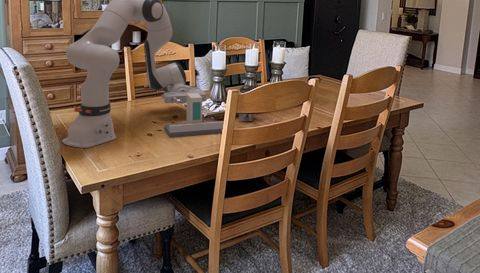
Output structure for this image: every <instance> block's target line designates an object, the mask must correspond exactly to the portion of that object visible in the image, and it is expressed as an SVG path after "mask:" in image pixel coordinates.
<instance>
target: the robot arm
mask: <svg viewBox="0 0 480 273" xmlns="http://www.w3.org/2000/svg"><path fill="white" fill-rule="evenodd" d="M131 20H134V21H138V22H144V23H145V24H146V29H147V37H146V39H145V40H144V43H143V48H144V51H143V52H144V59H145V70H146V82H147V84H148V87H149V89H151V90H154V91H157V92H158V91H160V90H162V89H163V88H167V92H163V94H161V96H160V97H161V99H163V102H164V103H165V104H185V103H186V104H187V94H188V93H198V94H199V95H200V96H201V97H202V102H206V101H207V92H206V91H205V90H202V89H200V86H193V85H192V86H191V85H188V84H186V82H187V74H186V72H185V69H184V67H183V66H182V65H181V64H179V63H178V62H172V63H169V64H167V65H163V66H161V67H158V68H156V63H155V62H156V61H155V55H156V53H157V52H158V51H159V50H160V49H162V48H163V47H164V46H165V45H167V44H168V43H169V42H170V40H171V39H172V37H173V27H172V23H171V19H170V15H169V14H168V10H167V8H166V7H165V4H163V3H162V2H161V0H110V1H109V3H108V4H107V5H106V6H105V8H104V9H103V11H102V13H101V14H100V16H99V17H98V19H97V21H96V22H95V24H94V25H93V27H91V29H90V30H89V31H87V32H86V33H85V34H84V35H83V36H82V37H81V38H79V39H77V40H76V41H75V42H72V43H70V44H69V45H68V47H67V48H66V51H65V56H66V57H65V58H66V60H67V62H68V63H69V64H70V65H73V67H75V68H78V69H81V70H86V71H87V74H86V79H85V81H84V80H83V82H82V83H81V84H80V102H81V103H80V106H79V107H78V106H75V107H74V109H73V111H74V112H75V113H78V115H77V116H76V117H75V119H74V120H73V121H72V122H71V124H70V125H69V126H68V129H67V137H65V138H63V139H62V140H61V141H62V143H63V144H64V145H67V146H69V147H73V148H83V149H85V148H86V149H88V148H92V147H94V146H98V145H101V144H104V143H107V142H111V141H114V140H116V139H117V136H116V133H115V131H114V124H113V119H112V116H111V111H112V110H111V107H112V106H111V102H110V99H109V98H110V96H109V95H110V94H109V90H110V89H109V86H110V85H109V84H110V80H111V77H112V75H113V73H114V72H115V71H116V70H118V68H119V66H120V61H121V60H120V55H119V53H118V51H117V50H115V49H114V48H112V47H110V46H112V45H114V44H116V43H117V42H119V41H120V40H121V38H122V36H123V35H124V32H125V31H126V29H127V27H128V25H129V24H130V21H131Z"/></svg>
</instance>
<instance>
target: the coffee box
mask: <svg viewBox="0 0 480 273" xmlns="http://www.w3.org/2000/svg"><path fill="white" fill-rule="evenodd" d="M254 88H256V89H257V85H253V84H252V85H251V84H244V85H242V86H241V87H240V88H239V93H240V92H241V93H244V92H247V91H250V90H252V89H254ZM238 116H239V117H238V121H239V120H241V121H252V120H253V121H254V119H255V118H256V113H255V114H238ZM254 117H255V118H254ZM253 118H254V119H253ZM241 121H240V122H241ZM253 121H252V122H253Z"/></svg>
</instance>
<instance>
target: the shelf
mask: <svg viewBox="0 0 480 273" xmlns="http://www.w3.org/2000/svg"><path fill="white" fill-rule="evenodd" d="M224 121H225V120H224ZM224 121H219V120H209V121H207V120H206V121H202V123H195V124H187V122H183V123H182V122H181V123H179V122H178V123H169V124H168V123H166V124H164V125H163V126H164V127H163V128H164V131H165V132H166V133H167V135H168V136H169V138H177V137H186V136H187V137H188V136H200V135H212V134H223V133H222V129H223V122H224Z"/></svg>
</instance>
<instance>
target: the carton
mask: <svg viewBox="0 0 480 273" xmlns="http://www.w3.org/2000/svg"><path fill="white" fill-rule="evenodd" d="M202 122H203V101H202V97H201V96H200V95H199V94H198V93H188V94H187V102H186V123H187V124H195V123H202Z"/></svg>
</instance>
